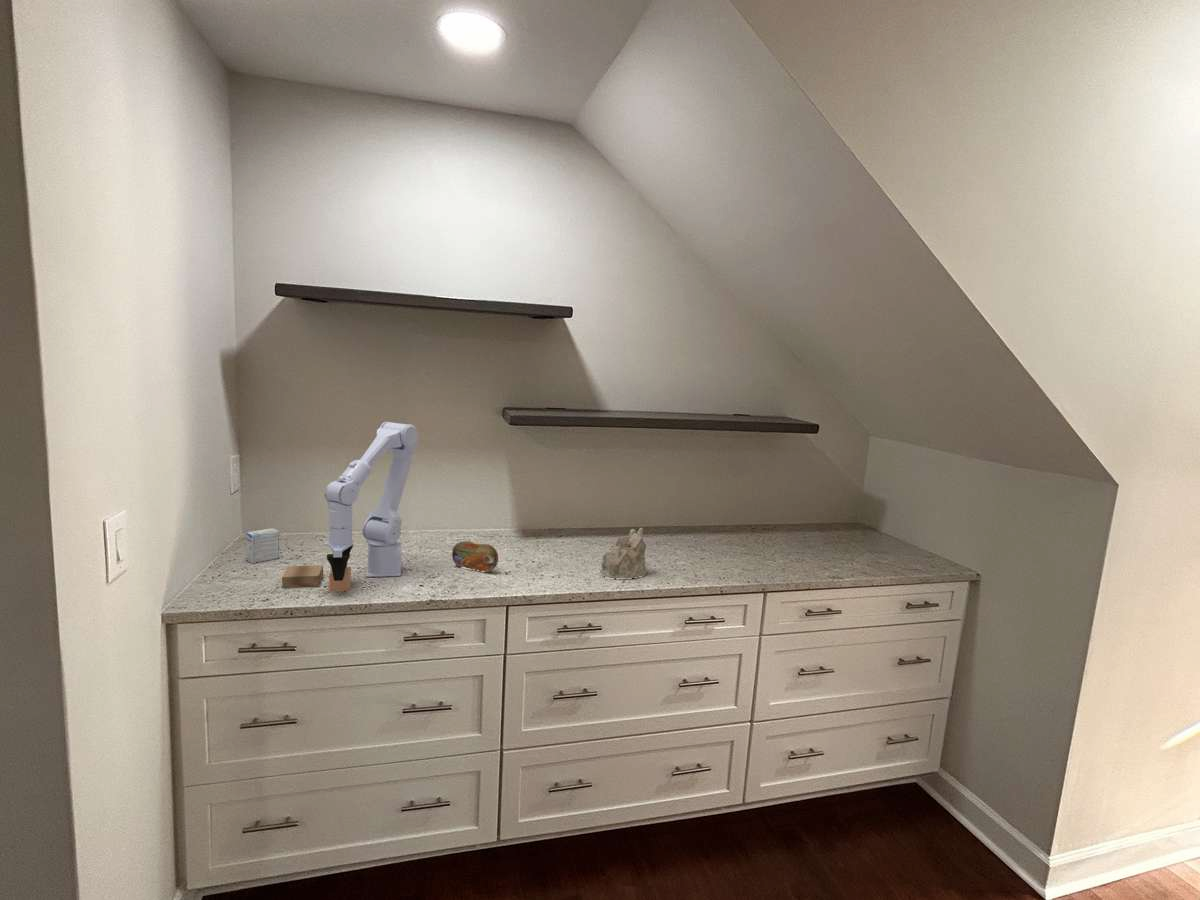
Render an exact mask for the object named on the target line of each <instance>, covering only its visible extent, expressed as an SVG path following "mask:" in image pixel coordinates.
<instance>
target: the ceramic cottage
mask: <svg viewBox="0 0 1200 900" xmlns="http://www.w3.org/2000/svg"><path fill="white" fill-rule="evenodd" d="M643 532H644V529H643V527H640V528H639V529H638V530H637V531H636V529H634V528H631V529H630V530H629V535H628V536H620V537H619V536H618V538H617V541H616V543H614V544H613V546H612V548H611V550H610V552H606V553H604V555H603V557H602V558H601V560H602V562H601V569H599V571H600V573H601V574H603V575H604V576H606V577H609V578H635V577H639V576H643V575H645V574H646V572H647V567H646V557H645V553H646V548H647V544H646V542H644V540H643V537H644V534H643ZM646 575H647V574H646Z"/></svg>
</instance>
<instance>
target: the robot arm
mask: <svg viewBox="0 0 1200 900" xmlns="http://www.w3.org/2000/svg"><path fill="white" fill-rule="evenodd" d="M419 438H420V435H419V433H418V430H417V428H416V426H415V425H414V424H411V423H407V424H405V423H399V422H398V423H397V422H391V421H384V422H383V423H381V425H380V427H379V428H377V430H376V436H375V438H374V440H373V441H372V442H371V444H370V445H369V447H368V448H367V449H366V451H365V452H364V454H363V455H362V456H361V458H360V459H354V460H352V461H351V462H350V463H349V464H348V467H347V468H346V469H345V470H344V471H343V472H342V474H340V476H339V477H338V479H336V480H333V481H332V482H330V483H329V484H328V485H327V486H326V488H325V491H324V492H323V496H324V499H325V501H326V502H327V508H328V541H324V542H323V546H324V547H329V549H330V550H331V551H332V553H330V554H329V553H327V554H326V559H327V562H328V563H329V564H330V570H331V569H332V573H333V578H334V581H342V580H343V578H344V573H345V568H346V567H348V562H349V560H350V557H351V554H350V553H351V551H352V549H353V548H354V543H353V503H355V501H357V499H358V496H359V492H360V489H361V486H362V485H363V484H364V483H365V481H367V479H368V478H369V477H370V475H371V474H372V466H373V465H374V464H375V463H376V462H377V461H378V460H379V459H380V458H382V456H383V455H384V454H385V453H386V452H387V451H388V450H389V451H390V452H391V454H392V456H393V458H392V461H391V463H390V467H389V470H388V474H387V478H386V480H385V484H384V487H383V490H382V492H381V493H382V494H381V496H380V500H379V503H378V506H377V507H376V509H373V510H371V512H369V514H368V517H367V519H366V520H365V521H364V523H363V525H362V529H361V532H362V536H363V537H364V539H366V543H367V544H368V545H367V546H368V547H367V568H366V571H365V578H377V577H379V578H380V577H400V576H402V568H403V561H402V542H398V540H399V539H400V537H401V534H402V525H403V524H402V523H403V519H402V518H401V517H400V515H399V514H398V509H399V507H400V503H401V500H402V496H403V493H404V489H405V485H406V483H407V480H408V476H409V472H410V470H411V466H412V464H413V460H414V455H415V451H416V448H417V443H418V440H419Z"/></svg>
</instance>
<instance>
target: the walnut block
mask: <svg viewBox="0 0 1200 900" xmlns="http://www.w3.org/2000/svg"><path fill="white" fill-rule="evenodd" d="M323 577H324V564H320V565H319V564H318V565H289V566H287V567H286V569H285V571H284V573H283V574H282V577H281V588H282V589H292V588H293V589H295V588H296V589H297V588H313V587H314V588H315V587H316V588H317V587H318V588H319V587H320V585H321V582H322V580H323Z"/></svg>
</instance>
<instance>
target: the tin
mask: <svg viewBox="0 0 1200 900" xmlns="http://www.w3.org/2000/svg"><path fill="white" fill-rule="evenodd" d="M451 557H452V560H453V563H454V564H455V566H457V567H458V566H459V567H466V568H470V569H475V570H479V571H484V572H486V573H489V572H491V571H493V570H494V569H495V568H496V567H497V566H498V562H499V553H498V552H497V549H496V548H495V547H494V546H492V545H491V544H488V543H482V542H476V541H471V540H470V541H469V540H466V541H465V540H464V541H460V542H458V543H456V544H455V545H454V546H453V549H452V553H451ZM459 567H458V568H459Z"/></svg>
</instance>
